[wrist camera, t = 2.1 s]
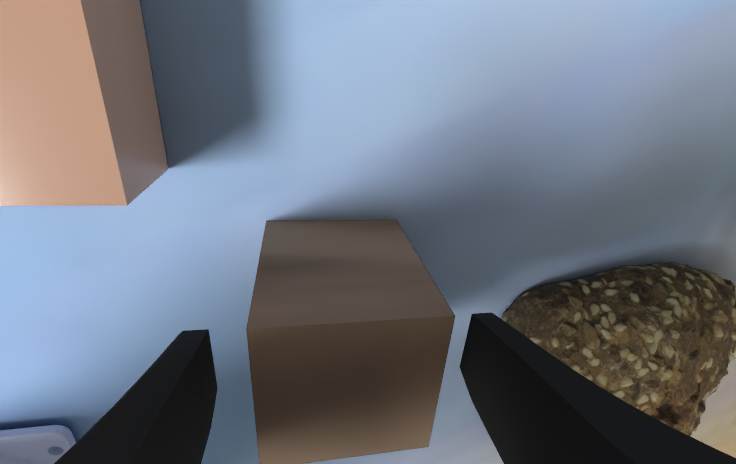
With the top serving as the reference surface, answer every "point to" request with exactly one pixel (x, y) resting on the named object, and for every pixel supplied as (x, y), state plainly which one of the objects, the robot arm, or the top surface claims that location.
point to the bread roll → (639, 334)
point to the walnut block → (344, 341)
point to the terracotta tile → (76, 104)
